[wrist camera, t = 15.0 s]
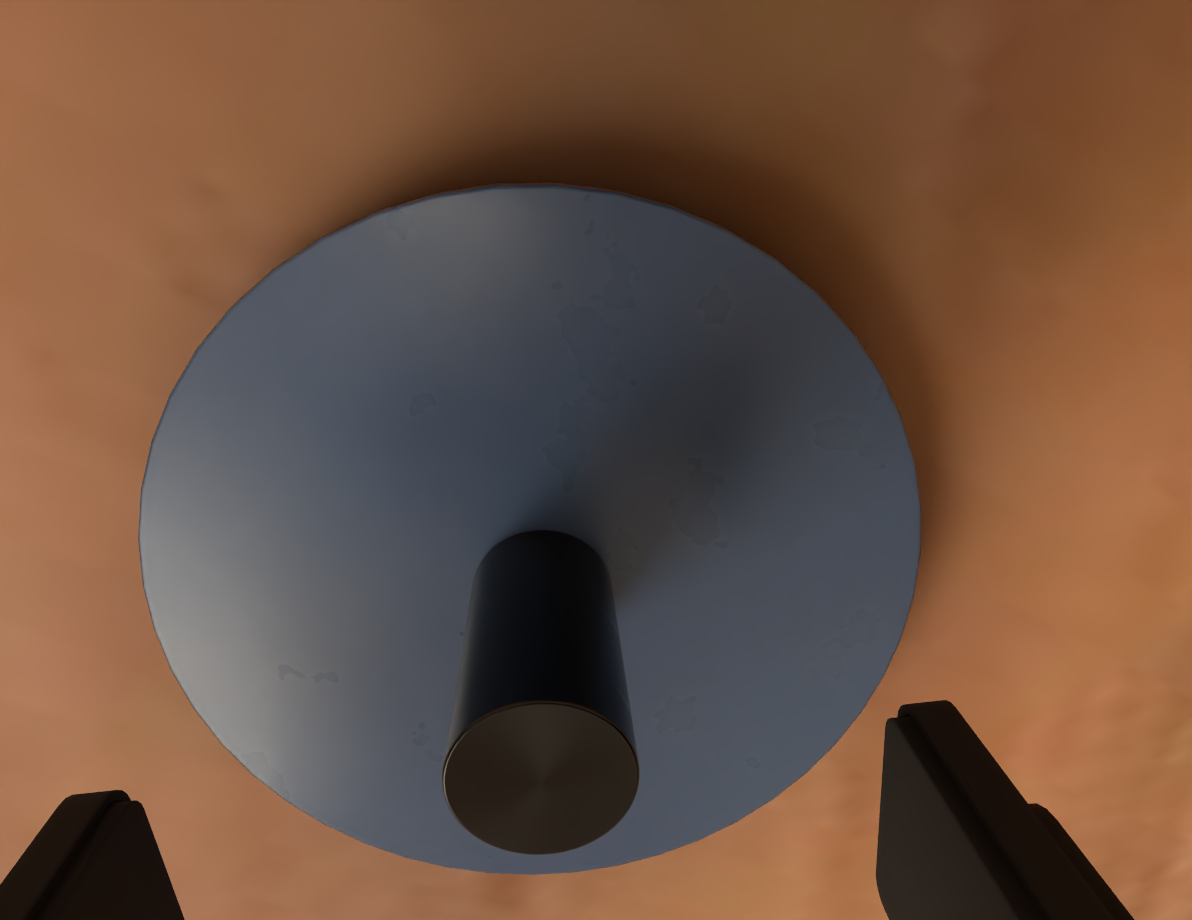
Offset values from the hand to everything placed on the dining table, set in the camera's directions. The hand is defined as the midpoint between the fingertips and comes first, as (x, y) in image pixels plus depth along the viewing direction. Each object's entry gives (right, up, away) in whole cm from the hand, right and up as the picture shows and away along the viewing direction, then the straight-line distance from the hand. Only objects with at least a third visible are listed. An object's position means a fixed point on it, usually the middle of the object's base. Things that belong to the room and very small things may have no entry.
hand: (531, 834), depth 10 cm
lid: (0, +2, +5) cm, 6 cm away
